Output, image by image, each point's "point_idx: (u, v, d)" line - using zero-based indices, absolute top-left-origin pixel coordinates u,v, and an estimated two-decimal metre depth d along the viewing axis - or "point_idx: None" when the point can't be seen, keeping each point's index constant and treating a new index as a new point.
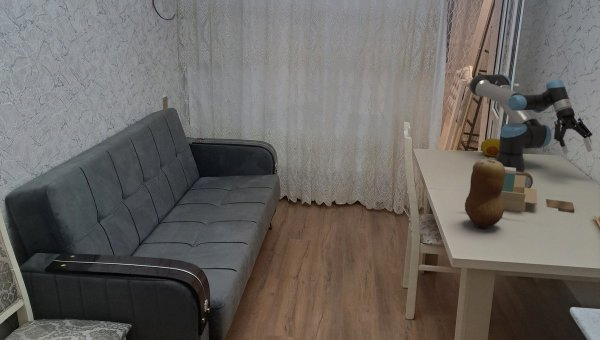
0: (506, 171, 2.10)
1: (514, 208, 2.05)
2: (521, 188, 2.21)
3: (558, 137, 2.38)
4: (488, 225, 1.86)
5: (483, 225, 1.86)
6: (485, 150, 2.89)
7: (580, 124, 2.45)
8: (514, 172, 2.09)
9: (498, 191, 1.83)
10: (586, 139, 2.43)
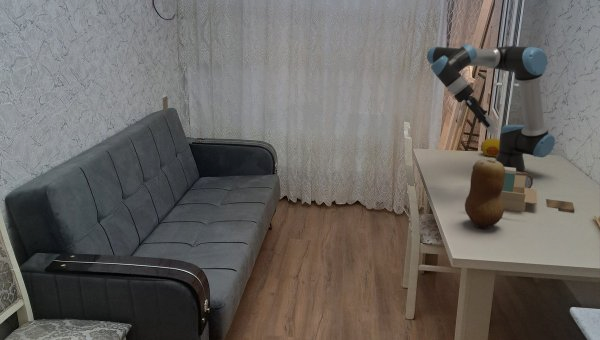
0: (506, 171, 2.10)
1: (514, 208, 2.05)
2: (521, 188, 2.21)
3: None
4: (488, 225, 1.86)
5: (483, 225, 1.86)
6: (485, 150, 2.89)
7: None
8: (514, 172, 2.09)
9: (498, 191, 1.83)
10: None
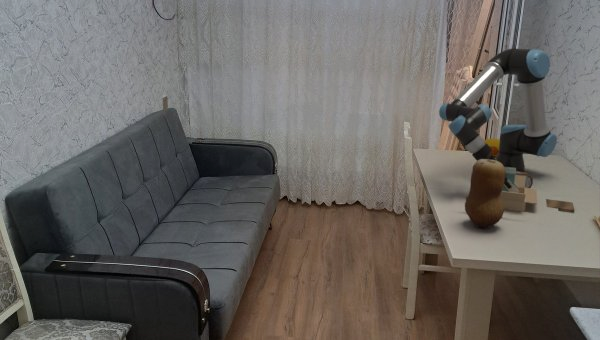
0: (506, 171, 2.10)
1: (514, 208, 2.05)
2: (521, 188, 2.21)
3: None
4: (488, 225, 1.86)
5: (483, 225, 1.86)
6: None
7: None
8: (514, 172, 2.09)
9: (498, 191, 1.83)
10: None
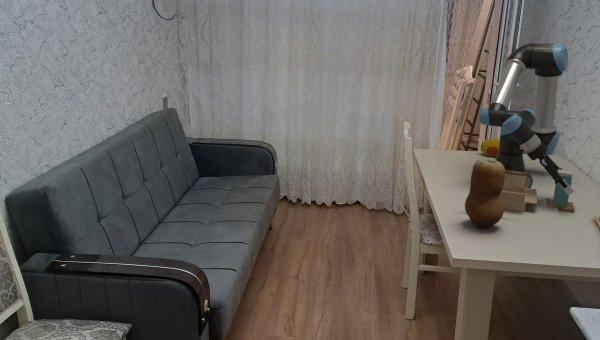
0: (562, 174, 2.06)
1: (514, 208, 2.05)
2: (521, 188, 2.21)
3: None
4: (488, 225, 1.86)
5: (483, 225, 1.86)
6: (485, 150, 2.89)
7: None
8: (571, 175, 2.05)
9: (498, 191, 1.83)
10: None
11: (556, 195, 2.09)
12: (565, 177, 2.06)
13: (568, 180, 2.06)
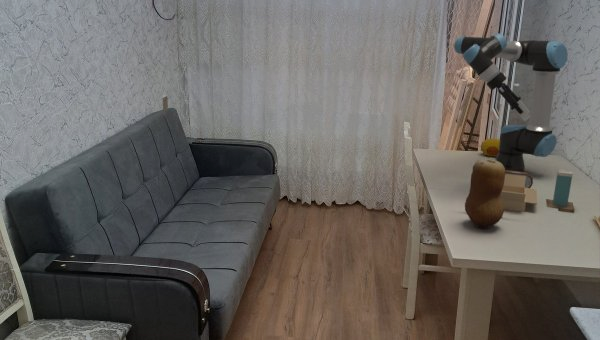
0: (562, 174, 2.06)
1: (514, 208, 2.05)
2: (521, 188, 2.21)
3: None
4: (488, 225, 1.86)
5: (483, 225, 1.86)
6: (485, 150, 2.89)
7: None
8: (571, 175, 2.05)
9: (498, 191, 1.83)
10: None
11: (556, 195, 2.09)
12: (565, 177, 2.06)
13: (568, 180, 2.06)
